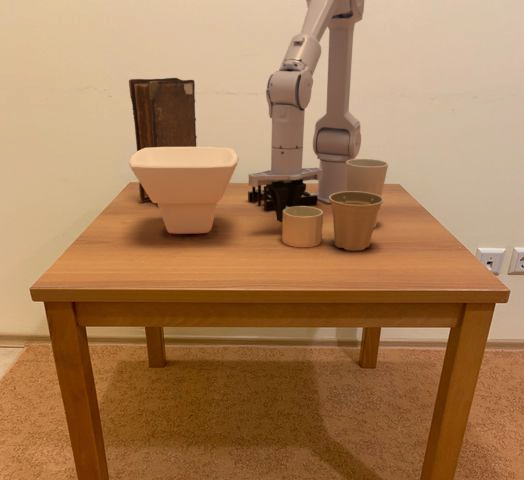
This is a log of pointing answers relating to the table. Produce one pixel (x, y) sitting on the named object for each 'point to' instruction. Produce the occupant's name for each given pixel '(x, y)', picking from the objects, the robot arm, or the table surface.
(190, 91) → the book
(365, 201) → the flower pot
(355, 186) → the cup
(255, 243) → the table surface
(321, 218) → the beige mug
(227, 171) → the bowl
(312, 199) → the rack
